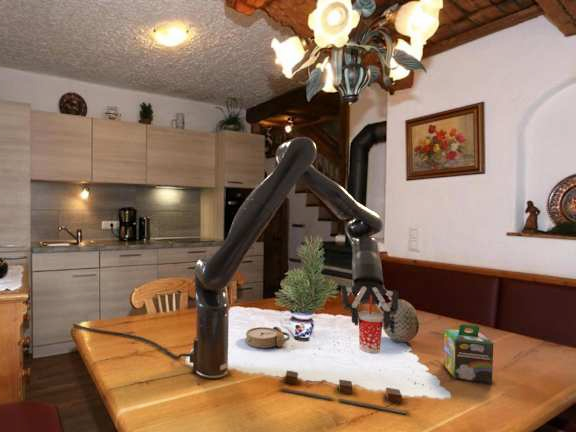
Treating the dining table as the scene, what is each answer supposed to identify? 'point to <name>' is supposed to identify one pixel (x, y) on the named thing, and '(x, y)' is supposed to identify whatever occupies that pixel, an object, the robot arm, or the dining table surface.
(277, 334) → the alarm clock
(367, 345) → the beverage cup
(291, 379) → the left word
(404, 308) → the decorative egg
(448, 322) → the dining table surface
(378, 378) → the dining table surface
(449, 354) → the chalk box
